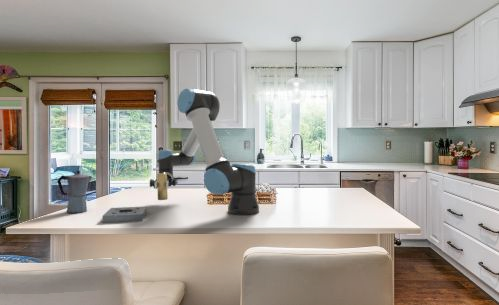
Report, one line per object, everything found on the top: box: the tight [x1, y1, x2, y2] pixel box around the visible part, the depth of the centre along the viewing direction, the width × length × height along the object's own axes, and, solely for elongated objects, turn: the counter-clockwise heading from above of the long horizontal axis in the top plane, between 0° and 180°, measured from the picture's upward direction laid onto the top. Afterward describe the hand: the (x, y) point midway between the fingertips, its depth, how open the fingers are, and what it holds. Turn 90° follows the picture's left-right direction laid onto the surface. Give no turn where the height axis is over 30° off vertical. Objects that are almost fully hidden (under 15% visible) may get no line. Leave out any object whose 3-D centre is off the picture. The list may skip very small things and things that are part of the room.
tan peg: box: [156, 172, 169, 201], centre depth 147 cm, size 4×4×12 cm
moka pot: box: [57, 170, 93, 214], centre depth 155 cm, size 10×15×20 cm, turn 137°
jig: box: [102, 206, 148, 224], centre depth 144 cm, size 16×16×3 cm
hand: (161, 185), depth 142 cm, fingers closed on tan peg, 4 cm apart
